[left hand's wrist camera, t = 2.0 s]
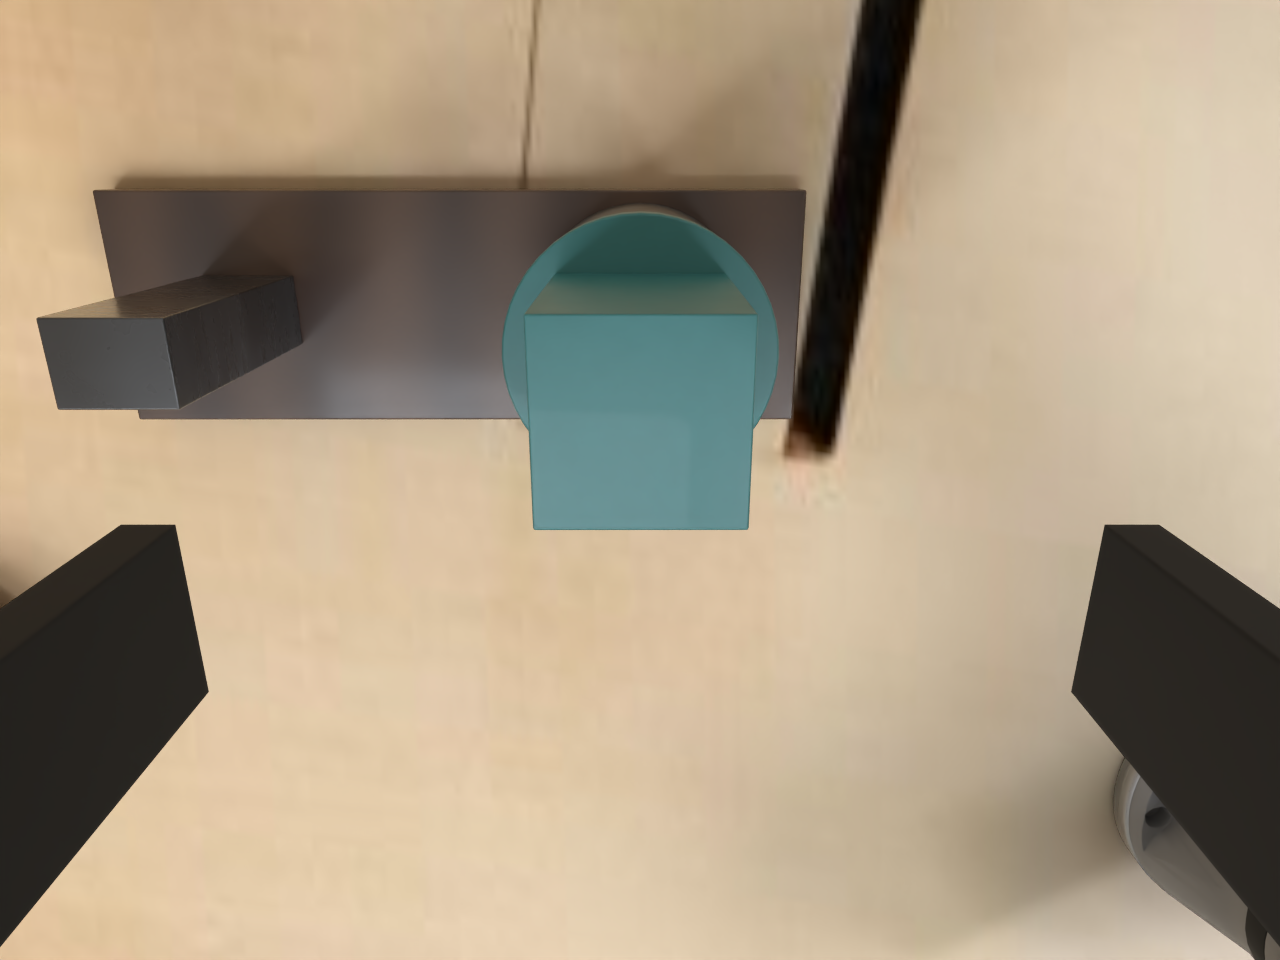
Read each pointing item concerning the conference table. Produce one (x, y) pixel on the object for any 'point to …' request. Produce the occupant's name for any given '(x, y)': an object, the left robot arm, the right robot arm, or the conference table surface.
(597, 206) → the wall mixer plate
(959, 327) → the conference table surface
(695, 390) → the cap block
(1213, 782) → the left robot arm
